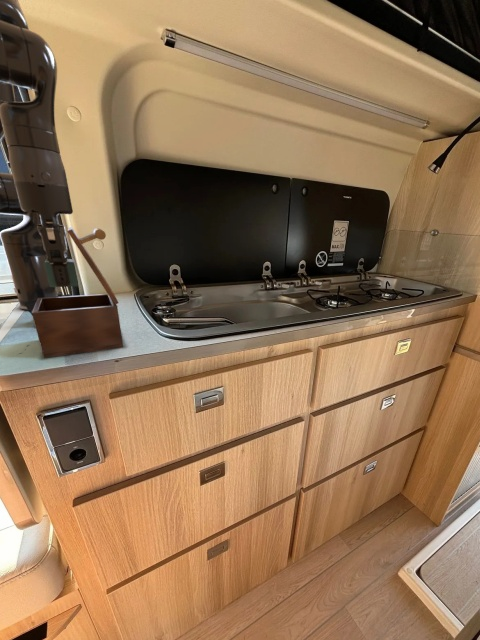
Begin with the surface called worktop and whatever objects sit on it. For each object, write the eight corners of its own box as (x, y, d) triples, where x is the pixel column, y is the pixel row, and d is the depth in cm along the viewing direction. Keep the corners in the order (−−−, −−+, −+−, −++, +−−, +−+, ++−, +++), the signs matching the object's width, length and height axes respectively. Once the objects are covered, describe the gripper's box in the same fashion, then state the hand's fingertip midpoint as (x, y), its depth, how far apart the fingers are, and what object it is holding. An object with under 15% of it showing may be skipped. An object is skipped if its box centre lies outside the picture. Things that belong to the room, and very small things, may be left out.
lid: (67, 231, 49) (98, 219, 51) (67, 228, 58) (94, 218, 60) (114, 304, 57) (140, 292, 59) (109, 292, 66) (131, 282, 68)
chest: (44, 358, 54) (31, 313, 51) (48, 337, 63) (37, 298, 60) (123, 347, 61) (117, 306, 57) (116, 329, 70) (111, 293, 66)
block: (51, 283, 57) (45, 259, 55) (78, 282, 59) (73, 259, 57) (50, 287, 54) (44, 262, 52) (78, 286, 56) (73, 261, 54)
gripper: (20, 183, 53) (43, 278, 60) (6, 175, 42) (36, 292, 49) (68, 188, 57) (85, 276, 64) (67, 181, 46) (87, 289, 52)
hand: (63, 282), depth 56 cm, fingers closed on block, 4 cm apart
